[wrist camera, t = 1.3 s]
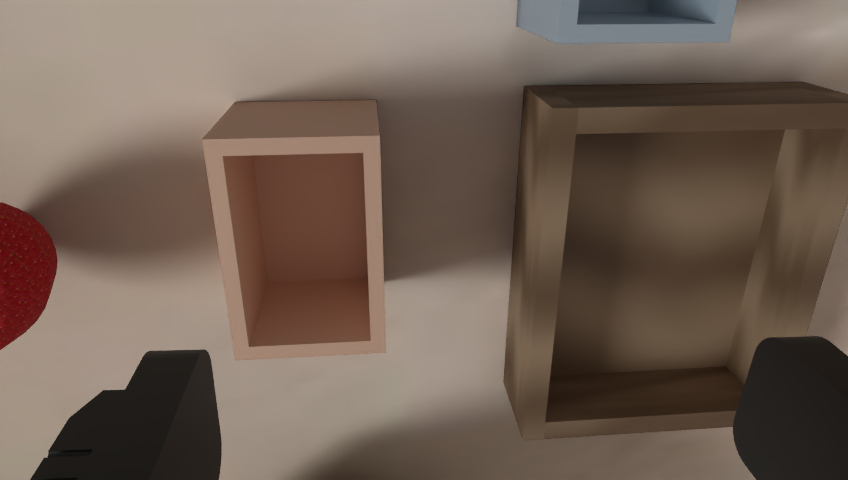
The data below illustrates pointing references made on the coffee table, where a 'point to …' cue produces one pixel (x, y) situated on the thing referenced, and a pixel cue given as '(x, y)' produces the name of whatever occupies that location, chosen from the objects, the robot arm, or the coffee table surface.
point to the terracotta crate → (299, 226)
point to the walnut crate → (664, 247)
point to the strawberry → (23, 272)
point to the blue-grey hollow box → (628, 20)
